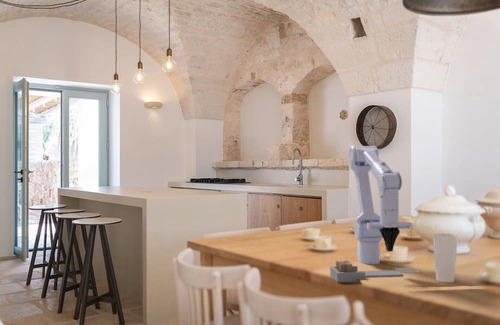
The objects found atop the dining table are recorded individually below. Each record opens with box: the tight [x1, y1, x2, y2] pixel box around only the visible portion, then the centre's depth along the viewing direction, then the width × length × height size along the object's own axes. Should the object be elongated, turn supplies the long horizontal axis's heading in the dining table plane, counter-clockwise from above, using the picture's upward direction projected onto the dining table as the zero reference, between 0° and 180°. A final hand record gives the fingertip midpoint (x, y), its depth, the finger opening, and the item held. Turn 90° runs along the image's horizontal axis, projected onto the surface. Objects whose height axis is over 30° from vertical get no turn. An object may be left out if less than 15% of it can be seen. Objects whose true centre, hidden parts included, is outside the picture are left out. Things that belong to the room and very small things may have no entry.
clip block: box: [335, 260, 353, 272], centre depth 154 cm, size 5×5×4 cm
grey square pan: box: [329, 265, 404, 283], centre depth 155 cm, size 9×22×3 cm, turn 95°
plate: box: [393, 266, 421, 274], centre depth 161 cm, size 7×7×1 cm
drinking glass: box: [432, 232, 458, 283], centre depth 147 cm, size 7×7×15 cm
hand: (389, 250), depth 155 cm, fingers closed
